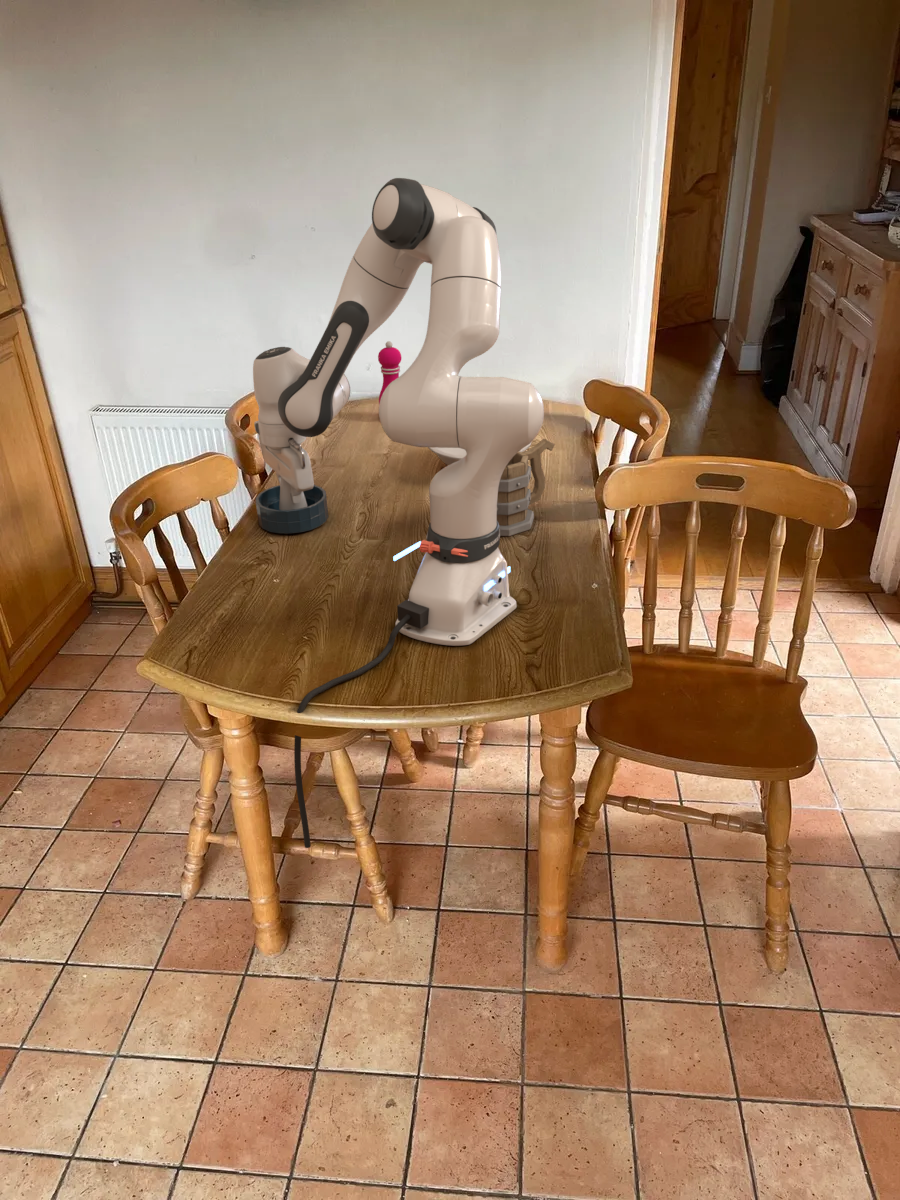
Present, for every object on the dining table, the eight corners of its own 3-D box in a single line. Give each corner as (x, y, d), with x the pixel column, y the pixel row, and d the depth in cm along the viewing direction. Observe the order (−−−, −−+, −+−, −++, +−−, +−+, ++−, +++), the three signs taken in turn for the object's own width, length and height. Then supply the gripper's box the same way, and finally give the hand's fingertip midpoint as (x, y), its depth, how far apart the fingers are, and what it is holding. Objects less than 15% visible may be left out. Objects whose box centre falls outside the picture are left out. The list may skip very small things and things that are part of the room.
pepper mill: (412, 415, 246) (408, 339, 236) (396, 423, 241) (392, 346, 231) (390, 411, 250) (385, 336, 240) (374, 419, 245) (368, 343, 235)
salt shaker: (303, 525, 188) (295, 465, 181) (276, 523, 189) (268, 463, 182) (312, 513, 193) (305, 454, 186) (286, 511, 194) (279, 453, 187)
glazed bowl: (304, 540, 183) (301, 515, 180) (245, 529, 188) (241, 504, 185) (341, 512, 194) (338, 488, 191) (284, 502, 199) (281, 479, 196)
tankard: (494, 542, 180) (493, 469, 172) (457, 519, 189) (455, 450, 182) (573, 516, 189) (576, 446, 182) (535, 496, 198) (536, 429, 191)
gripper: (317, 444, 175) (325, 511, 182) (280, 414, 190) (288, 477, 197) (286, 450, 172) (294, 518, 179) (251, 420, 188) (260, 483, 195)
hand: (291, 496), depth 188 cm, fingers open, 5 cm apart
